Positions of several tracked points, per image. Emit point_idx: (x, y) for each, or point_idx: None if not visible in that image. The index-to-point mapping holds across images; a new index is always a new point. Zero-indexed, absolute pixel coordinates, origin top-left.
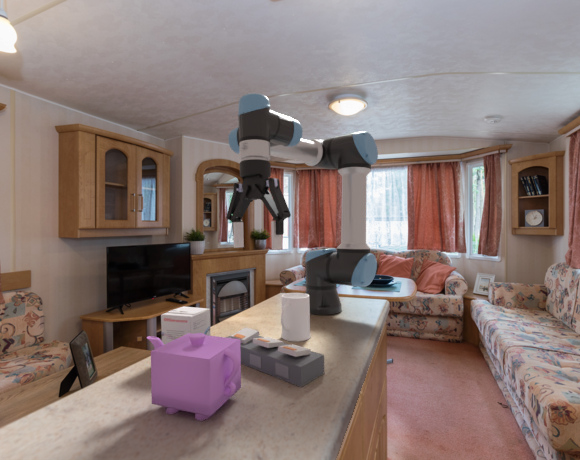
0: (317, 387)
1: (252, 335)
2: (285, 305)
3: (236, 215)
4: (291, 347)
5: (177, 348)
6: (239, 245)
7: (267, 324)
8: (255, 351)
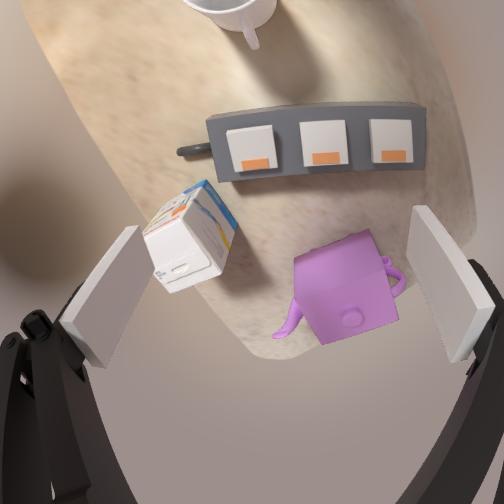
0: (429, 146)
1: (274, 145)
2: (246, 28)
3: (94, 402)
4: (389, 145)
5: (341, 328)
6: (144, 255)
7: (125, 11)
8: (324, 172)
